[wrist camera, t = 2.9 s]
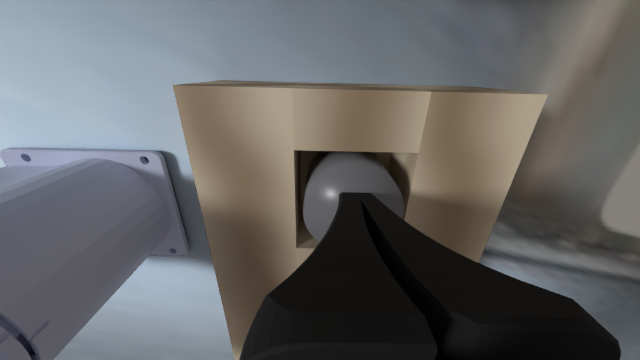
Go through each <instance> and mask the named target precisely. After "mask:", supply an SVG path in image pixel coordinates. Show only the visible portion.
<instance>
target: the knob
mask: <svg viewBox="0 0 640 360" xmlns="http://www.w3.org/2000/svg"><path fill="white" fill-rule="evenodd" d="M342 192H352V193H371V194H372V195H374V196H375V197H376V198H377V199H378V200H380V201H381V202H382V203H383V204H384V205H386V206H387V207H388V208H389V209H390V210H392V211H393V212H394V213H395V214H397V215H398V216H399V217H400V218H402V216H403V211H404V202H403V197H402V194H401V191H400V189H399V188H398V186H397V184H396V183H395V182H394V180H393V179H392V177H391V176H390V174H389V173H388V171H387V170H386V168H385V167H384V165H383V164H382V162H381V161H380V159H379V158H378V156H377V155H376V154H375V153H374V152H350V151H320V152H319V153H318V154H317V155H316V156H315V157H314V159H313V160H312V162H311V164H310V166H309V169H308V173H307V180H306V188H305V197H304V205H303V218H304V222H305V225H306V227H307V229H308V231H309V232H310V234H311V235H312V236H313V237H314V238H315V239H316V240H317V241H318V242H320V241H321V240H322V238H323V237H324V235H325V234H326V232H327V230H328V228H329V227H330V225H331V223H332V221H333V219H334V216H335V214H336V211H337V208H338V203H339V194H340V193H342Z"/></svg>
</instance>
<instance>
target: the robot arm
mask: <svg viewBox="0 0 640 360" xmlns="http://www.w3.org/2000/svg"><path fill="white" fill-rule="evenodd" d="M0 155H1V158H2V159H3V161H4V163H5V165H6V167H3V168H0V360H53V359H54V358H55V357H56V356H57V355H58V354H59V353H60V352H61V351H62V349H63V348H64V347H65V346H66V345H67V344H68V343H69V342H70V341H71V340H72V339H73V338H74V336H75V335H76V334H77V333H78V332H79V331H80V330H81V329H82V328H83V327H84V326H85V325H86V323H87V322H88V321H89V320H90V319H91V318H92V317H93V316H94V315H95V314H96V313H97V311H98V310H99V309H100V308H101V307H102V306H103V305H104V304H105V303H106V302H107V301H108V300H109V298H110V297H111V296H112V295H113V294H114V293H115V292H116V291H117V290H118V289H119V288H120V287H121V285H122V284H123V283H124V282H125V281H126V280H127V279H128V278H129V277H130V276H131V275H132V274H133V272H134V271H135V270H136V269H137V268H138V267H139V266H140V265H141V264H142V263H143V262H144V260H145V259H146V258H147V257H148V256H149V255H162V256H184V255H186V254H187V252H188V251H189V246H188V242H187V239H186V235H185V231H184V228H183V224H182V220H181V217H180V213H179V209H178V206H177V202H176V199H175V195H174V191H173V188H172V184H171V180H170V177H169V173H168V169H167V166H166V162H165V159H164V156H163V155H162V154H161V153H160V152H158V151H146V150H100V149H54V148H7V149H3V150H1V152H0ZM144 156H145V157H147V158H148V160H149V162H147V161H146V160H145V158H144ZM173 248H174V249H173ZM175 249H176V250H175ZM620 356H621V350H620V346H619V343H618V340H617V339H615V338H614V337H613V336H612V335H611V334H610V333H609V332H608V331H607V330H606V329H605V328H604V327H603V326H601V325H600V324H599V323H598V322H597V321H596V320H595V319H594V318H593V317H592V316H591V315H590V314H588V313H587V312H586V311H585V310H584V309H583V308H582V307H581V306H580V305H579V304H578V303H577V302H575V301H574V300H573V299H571V298H568V297H565V296H563V295H560V294H557V293H554V292H551V291H548V290H546V289H543V288H540V287H537V286H534V285H532V284H529V283H526V282H523V281H520V280H518V279H515V278H513V277H510V276H508V275H505V274H503V273H500V272H498V271H496V270H493V269H491V268H488V267H486V266H484V265H482V264H480V263H477V262H475V261H473V260H471V259H469V258H467V257H465V256H463V255H461V254H459V253H457V252H455V251H453V250H451V249H449V248H447V247H445V246H443V245H442V244H440V243H438V242H436V241H435V240H433V239H431V238H430V237H428V236H426V235H425V234H423V233H422V232H420V231H419V230H417V229H416V228H414V227H413V226H411V225H410V224H409V223H407V222H406V221H404V220H403V219H402V218H400V217H399V216H398V215H397V214H395V213H394V212H393V211H392V210H390V209H389V208H388V207H387V206H386V205H384V204H383V203H382V202H381V201H380V200H378V199H377V198H376V197H375V196H374V195H372V194H371V193H352V192H342V193H340V194H339V203H338V208H337V211H336V214H335V216H334V219H333V221H332V223H331V225H330V227H329V228H328V230H327V232H326V234H325V235H324V237H323V238H322V240H321V241H320V243H319V244H318V245H317V247H316V248H315V249H314V251H313V252H312V253H311V254H310V255H309V257H308V258H307V259H306V260H305V261H304V262H303V263H302V264H301V265H300V266H299V267H298V268H297V269H296V270H295V271H294V272H293V273H292V274H291V275H290V276H289V277H288V278H287V279H285V280H284V281H283V282H282V283H281V284H279V285H278V286H277V287H276V288H274V289H273V290H272V291H271V292H270V293H268V294H267V295H266V296H265V298H264V300H263V302H262V304H261V306H260V308H259V309H258V311H257V313H256V316H255V318H254V320H253V322H252V324H251V327H250V329H249V332H248V334H247V336H246V339H245V342H244V345H243V348H242V352H241V355H240V359H239V360H620Z"/></svg>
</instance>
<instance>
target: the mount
mask: <svg viewBox="0 0 640 360" xmlns="http://www.w3.org/2000/svg"><path fill="white" fill-rule="evenodd" d="M173 88H174V92H175V97H176V101H177V106H178V110H179V114H180V119H181V123H182V128H183V132H184V137H185V141H186V145H187V150H188V154H189V159H190V163H191V167H192V172H193V176H194V181H195V185H196V190H197V194H198V198H199V203H200V207H201V212H202V216H203V220H204V225H205V229H206V234H207V238H208V242H209V247H210V251H211V256H212V260H213V265H214V269H215V273H216V278H217V282H218V287H219V291H220V295H221V300H222V304H223V309H224V313H225V317H226V322H227V326H228V331H229V335H230V340H231V344H232V348H233V353H234V357H235V360H239V359H240V355H241V352H242V348H243V345H244V342H245V339H246V336H247V334H248V332H249V329H250V327H251V324H252V322H253V320H254V318H255V316H256V313H257V311H258V309H259V308H260V306H261V304H262V302H263V300H264V298H265V296H266V295H267V294H268V293H270V292H271V291H272V290H273V289H274V288H276V287H277V286H278V285H279V284H281V283H282V282H283V281H284V280H285V279H287V278H288V277H289V276H290V275H291V274H292V273H293V272H294V271H295V270H296V269H297V268H298V267H299V266H300V265H301V264H302V263H303V262H304V261H305V260H306V259H307V258H308V257H309V255H310V254H311V253H312V252H313V251H314V249H315V248H316V247H317V245H318V244H319V243H320V242H318V241H317V240H316V239H315V238H314V237H313V236H312V235H311V234H310V232H309V231H308V229H307V227H306V225H305V222H304V218H303V205H304V197H305V188H306V180H307V173H308V169H309V166H310V164H311V162H312V160H313V159H314V157H315V156H316V155H317V154H318V153H319V152H320V151H350V152H374V153H375V154H376V155H377V156H378V158H379V159H380V161H381V162H382V164H383V165H384V167H385V168H386V170H387V171H388V173H389V174H390V176H391V177H392V179H393V180H394V182H395V183H396V184H397V186H398V188H399V189H400V191H401V194H402V197H403V202H404V211H403V216H402V219H403V220H404V221H406V222H407V223H409V224H410V225H411V226H413V227H414V228H416V229H417V230H419V231H420V232H422V233H423V234H425V235H426V236H428V237H430V238H431V239H433V240H435V241H436V242H438V243H440V244H442V245H443V246H445V247H447V248H449V249H451V250H453V251H455V252H457V253H459V254H461V255H463V256H465V257H467V258H469V259H471V260H473V261H475V262H477V263H479V261H480V258H481V256H482V253H483V251H484V249H485V246H486V244H487V241H488V239H489V236H490V234H491V232H492V229H493V227H494V224H495V222H496V219H497V217H498V215H499V212H500V210H501V207H502V205H503V202H504V200H505V198H506V195H507V193H508V190H509V188H510V186H511V183H512V181H513V178H514V176H515V173H516V171H517V169H518V166H519V164H520V161H521V159H522V156H523V154H524V152H525V149H526V147H527V144H528V142H529V139H530V137H531V135H532V132H533V130H534V127H535V125H536V123H537V120H538V118H539V115H540V113H541V110H542V108H543V106H544V103H545V101H546V98H547V96H548V95H547V94H538V93H528V92H519V91H510V90H500V89H491V88H481V87H459V86H419V85H379V84H339V83H300V82H260V81H210V82H200V83H190V84H181V85H173Z"/></svg>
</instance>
